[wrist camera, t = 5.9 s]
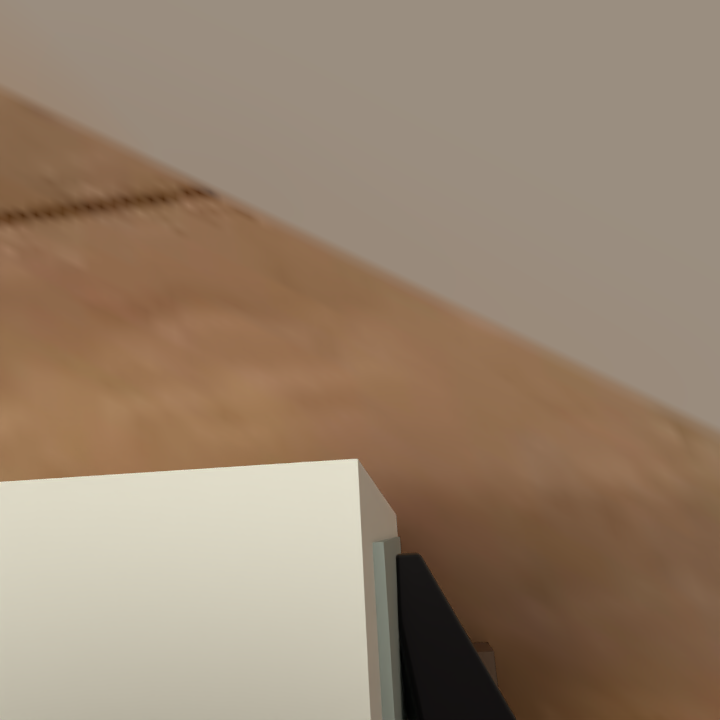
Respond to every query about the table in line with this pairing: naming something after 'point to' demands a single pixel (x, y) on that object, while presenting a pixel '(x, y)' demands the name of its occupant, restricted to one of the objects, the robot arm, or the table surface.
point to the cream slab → (200, 596)
